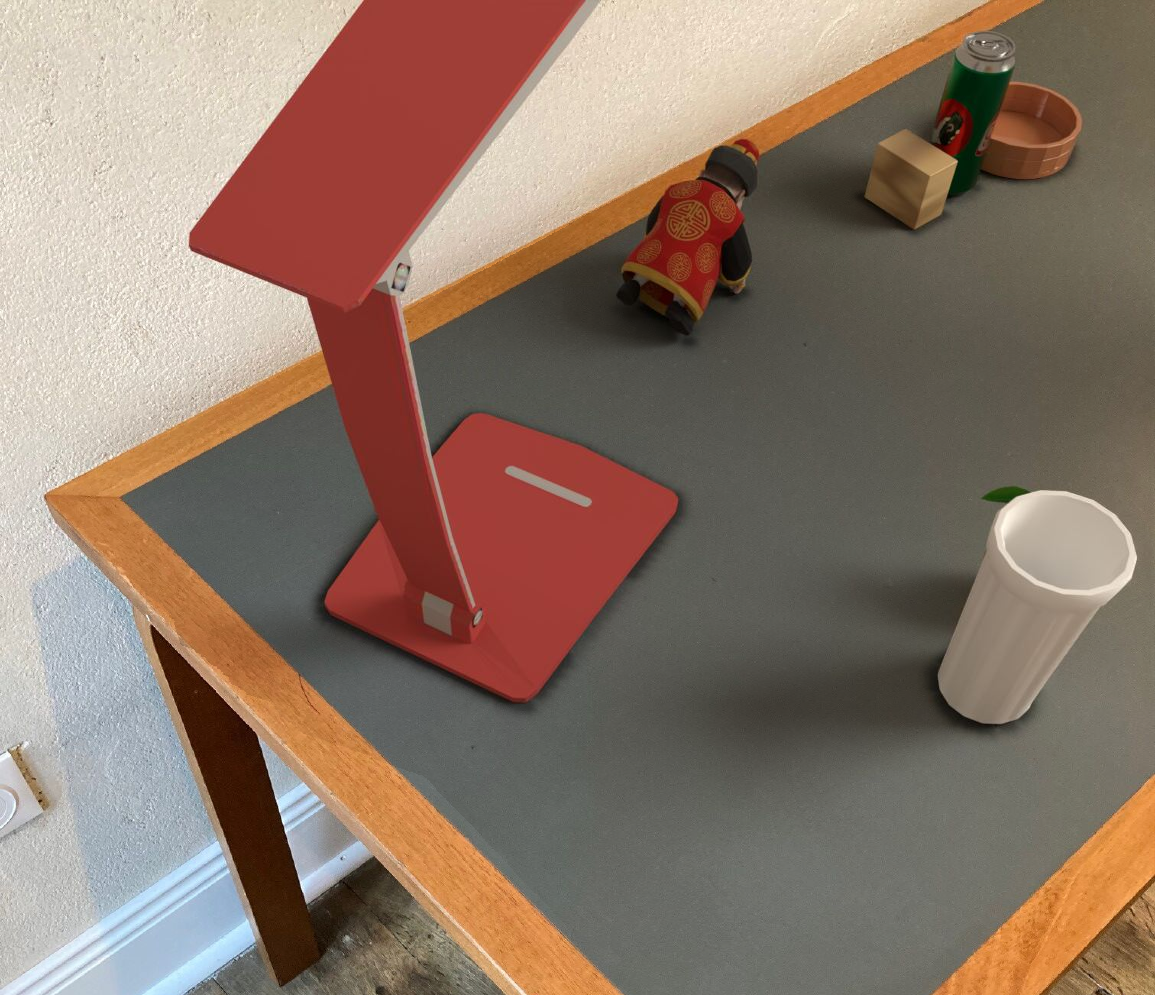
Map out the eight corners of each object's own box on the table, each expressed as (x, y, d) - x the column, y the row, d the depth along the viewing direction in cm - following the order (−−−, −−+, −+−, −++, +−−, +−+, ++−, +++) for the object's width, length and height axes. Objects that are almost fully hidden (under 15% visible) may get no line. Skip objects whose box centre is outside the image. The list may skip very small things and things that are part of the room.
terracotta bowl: (1092, 151, 109) (1105, 119, 106) (1019, 193, 105) (1031, 161, 103) (1004, 100, 113) (1015, 68, 110) (931, 139, 109) (940, 107, 107)
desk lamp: (748, 406, 90) (869, -241, 56) (491, 780, 73) (437, 170, 39) (547, 329, 95) (545, -319, 60) (258, 664, 77) (22, 20, 43)
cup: (927, 628, 80) (995, 476, 67) (1047, 652, 79) (1138, 502, 67) (916, 724, 76) (987, 581, 63) (1043, 751, 75) (1139, 611, 63)
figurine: (708, 368, 98) (803, 213, 98) (698, 318, 89) (803, 147, 88) (613, 317, 100) (706, 164, 100) (593, 263, 91) (696, 94, 90)
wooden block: (941, 214, 104) (958, 160, 99) (914, 230, 102) (930, 176, 98) (891, 182, 106) (905, 128, 102) (864, 197, 105) (877, 143, 100)
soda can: (975, 202, 105) (1021, 63, 94) (918, 195, 105) (958, 57, 95) (974, 169, 107) (1019, 31, 97) (918, 163, 107) (957, 24, 97)
